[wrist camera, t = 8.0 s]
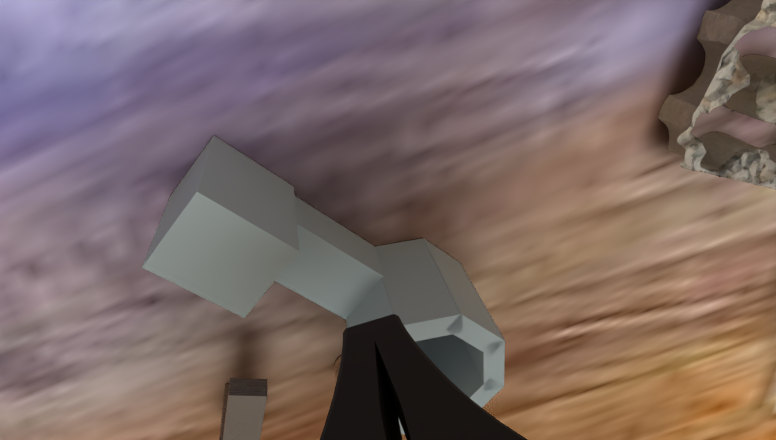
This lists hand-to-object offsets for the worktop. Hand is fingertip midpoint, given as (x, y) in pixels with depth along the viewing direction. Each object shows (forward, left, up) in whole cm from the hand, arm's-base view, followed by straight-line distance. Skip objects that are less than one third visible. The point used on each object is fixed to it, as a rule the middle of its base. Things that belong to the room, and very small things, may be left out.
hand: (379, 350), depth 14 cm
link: (-3, +1, -9) cm, 10 cm away
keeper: (-7, +6, -9) cm, 14 cm away
